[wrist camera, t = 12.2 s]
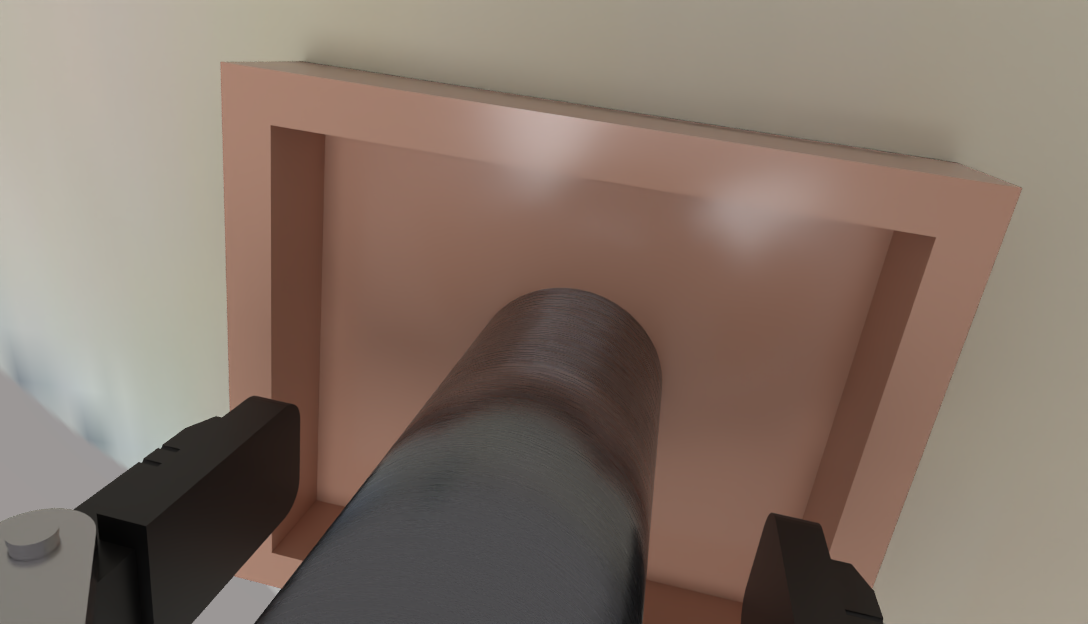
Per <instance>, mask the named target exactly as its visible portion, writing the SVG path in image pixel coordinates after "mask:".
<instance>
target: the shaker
mask: <svg viewBox="0 0 1088 624" xmlns="http://www.w3.org/2000/svg"><path fill="white" fill-rule="evenodd" d="M661 395H662V372H661V365H660V361H659V358H658V354H657V351H656V349H655V347H654V345H653V343H652V341H651V339H650V337H649V336H648V334H647V333H646V331H645V330H644V328H643V327H642V326H641V325H640V324H639V322H638V321H637V320H636V319H635V318H634V317H633V316H632V315H631V314H629V313H628V312H627V311H626V310H625V309H623V308H622V307H620V306H619V305H618V304H616V303H614V302H612V301H610V300H609V299H607V298H605V297H602V296H600V295H597V294H595V293H592V292H588V291H584V290H580V289H572V288H550V289H542V290H538V291H534V292H531V293H528V294H526V295H523V296H521V297H518V298H517V299H515V300H513V301H512V302H510V303H508V304H507V305H506V306H504V307H503V308H502V309H501V310H499V311H498V312H497V313H496V315H495V316H494V317H493V318H492V319H491V320H490V321H489V323H488V324H487V325H486V326H485V328H484V329H483V330H482V332H481V333H480V334H479V335H478V337H477V338H476V339H475V341H474V342H473V343H472V344H471V346H470V347H469V348H468V350H467V351H466V352H465V353H464V355H463V356H462V357H461V359H460V360H459V361H458V362H457V364H456V365H455V366H454V368H453V369H452V370H451V371H450V373H449V374H448V375H447V377H446V378H445V379H444V380H443V382H442V383H441V384H440V386H439V387H438V388H437V389H436V391H435V392H434V393H433V395H432V396H431V397H430V398H429V400H428V401H427V402H426V404H425V405H424V406H423V407H422V409H421V410H420V411H419V413H418V414H417V415H416V416H415V418H414V419H413V420H412V422H411V423H410V424H409V425H408V427H407V428H406V429H405V431H404V432H403V433H402V434H401V436H400V437H399V438H398V440H397V441H396V442H395V443H394V445H393V446H392V447H391V449H390V450H389V451H388V452H387V454H386V455H385V456H384V458H383V459H382V460H381V461H380V463H379V464H378V465H377V467H376V468H375V469H374V470H373V472H372V473H371V474H370V476H369V477H368V478H367V479H366V481H365V482H364V483H363V485H362V486H361V487H360V488H359V490H358V491H357V492H356V494H355V495H354V496H353V497H352V499H351V500H350V501H349V503H348V504H347V505H346V506H345V508H344V509H343V510H342V511H341V513H340V514H339V515H338V517H337V518H336V519H335V520H334V522H333V523H332V524H331V526H330V527H329V528H328V529H327V531H326V532H325V533H324V535H323V536H322V537H321V538H320V540H319V541H318V542H317V544H316V545H315V546H314V547H313V549H312V550H311V551H310V553H309V554H308V555H307V556H306V558H305V559H304V560H303V562H302V563H301V564H300V565H299V567H298V568H297V569H296V571H295V572H294V573H293V574H292V576H291V577H290V578H289V580H288V581H287V582H286V583H285V585H284V586H283V587H282V589H281V590H280V591H279V592H278V594H277V595H276V596H275V598H274V599H273V600H272V601H271V603H270V604H269V605H268V607H267V608H266V609H265V610H264V612H263V613H262V614H261V616H260V617H259V618H258V619H257V621H256V622H255V623H254V624H643V612H644V600H645V588H646V576H647V564H648V552H649V540H650V528H651V516H652V504H653V492H654V480H655V468H656V456H657V444H658V432H659V419H660V407H661Z"/></svg>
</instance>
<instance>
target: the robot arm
mask: <svg viewBox="0 0 1088 624" xmlns="http://www.w3.org/2000/svg"><path fill="white" fill-rule="evenodd" d="M299 480H300V412H299V409H298V407H297V406H296V405H295V404H291V403H286V402H282V401H277V400H273V399H268V398H264V397H260V396H250V397H249V398H247V399H246V400H244V401H243V402H242V403H240V404H239V405H238V406H237V407H235V408H234V409H233V410H231V411H230V412H229V413H227V414H226V415H225V416H223V417H222V418H221V417H217V416H216V417H213V418H211V419H208V420H205V421H203V422H200V423H198V424H195V425H192V426H190V427H187V428H185V429H184V430H182V431H181V432H179V433H178V434H177V435H175V436H174V437H173V438H171V439H170V440H168V441H167V442H166V443H164V444H163V445H162V448H161V449H159V448H157V449H156V450H155V451H153V452H152V453H151V454H149V455H148V456H147V457H145V458H144V459H143V462H142V463H140V462H138V463H137V464H136V465H134V466H133V467H131V468H130V469H129V470H127V471H126V472H125V473H123V474H122V475H120V476H119V477H118V478H116V479H115V480H114V481H112V482H111V483H110V484H108V485H107V486H105V487H104V488H103V489H101V490H100V491H99V492H97V493H96V494H94V495H93V496H92V497H90V498H89V499H88V500H86V501H85V502H83V503H82V504H81V505H79V506H78V507H77V508H75V509H74V510H72V509H63V508H56V509H55V508H54V509H53V508H51V509H41V510H35V511H31V512H27V513H23V514H19V515H16V516H13V517H11V518H8V519H6V520H4V521H1V522H0V624H192V623H193V621H194V620H195V619H196V618H197V617H198V616H199V615H200V614H201V612H202V611H203V610H204V609H205V608H206V607H207V606H208V605H209V603H210V602H211V601H212V600H213V599H214V598H215V597H216V596H217V594H218V593H219V592H220V591H221V590H222V589H223V588H224V586H225V585H226V584H227V583H228V582H229V581H230V580H231V579H232V577H233V576H234V575H235V574H236V573H237V572H238V571H239V570H240V568H241V567H242V566H243V565H244V564H245V563H246V562H247V561H248V559H249V558H250V557H251V556H252V555H253V554H254V553H255V551H256V550H257V549H258V548H259V547H260V546H261V545H262V544H263V542H264V541H265V540H266V539H267V538H268V537H269V536H270V535H271V533H272V532H273V531H274V530H275V529H276V528H277V527H278V526H279V524H280V523H281V522H282V521H283V520H284V519H285V518H286V516H287V515H288V513H289V512H290V510H291V508H292V506H293V504H294V502H295V499H296V496H297V493H298V488H299ZM741 624H883V616H882V613H881V610H880V608H879V605H878V602H877V599H876V596H875V593H874V590H873V589H872V588H871V587H870V586H869V584H868V583H867V582H866V581H865V580H864V578H863V577H862V576H861V575H860V574H859V572H858V571H857V570H856V569H855V568H854V566H853V565H852V564H850V563H846V562H841V561H837V560H833V559H831V557H830V554H829V550H828V547H827V543H826V540H825V536H824V533H823V529H822V526H821V525H820V524H819V523H817V522H812V521H808V520H803V519H799V518H794V517H790V516H786V515H781V514H777V513H770V514H769V515H768V517H767V519H766V522H765V525H764V528H763V531H762V535H761V538H760V541H759V545H758V548H757V552H756V555H755V558H754V562H753V565H752V569H751V572H750V575H749V579H748V582H747V586H746V589H745V593H744V598H743V605H742V613H741Z"/></svg>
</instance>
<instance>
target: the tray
mask: <svg viewBox="0 0 1088 624" xmlns="http://www.w3.org/2000/svg"><path fill="white" fill-rule="evenodd" d="M221 96H222V134H223V172H224V209H225V247H226V284H227V322H228V360H229V397H230V411H231V410H233V409H234V408H235V407H237V406H238V405H239V404H240V403H242V402H243V401H244V400H246V399H247V398H249V397H250V396H260V397H264V398H268V399H273V400H277V401H282V402H286V403H291V404H295V405H296V406H297V407H298V409H299V412H300V480H299V488H298V493H297V496H296V499H295V502H294V504H293V506H292V508H291V510H290V512H289V513H288V515H287V516H286V518H285V519H284V520H283V521H282V522H281V523H280V524H279V526H278V527H277V528H276V529H275V530H274V531H273V532H272V533H271V535H270V536H269V537H268V538H267V539H266V540H265V541H264V542H263V544H262V545H261V546H260V547H259V548H258V549H257V550H256V551H255V553H254V554H253V555H252V556H251V557H250V558H249V559H248V561H247V562H246V563H245V564H244V565H243V566H242V567H241V568H240V570H239V571H238V572H237V573H236V574H235V575H234V576H235V577H239V578H243V579H247V580H251V581H255V582H259V583H262V584H266V585H270V586H274V587H278V588H281V589H282V587H283V586H284V585H285V583H286V582H287V581H288V580H289V578H290V577H291V576H292V574H293V573H294V572H295V571H296V569H297V568H298V567H299V565H300V564H301V563H302V562H303V560H304V559H305V558H306V556H307V555H308V554H309V553H310V551H311V550H312V549H313V547H314V546H315V545H316V544H317V542H318V541H319V540H320V538H321V537H322V536H323V535H324V533H325V532H326V531H327V529H328V528H329V527H330V526H331V524H332V523H333V522H334V520H335V519H336V518H337V517H338V515H339V514H340V513H341V511H342V510H343V509H344V508H345V506H346V505H347V504H348V503H349V501H350V500H351V499H352V497H353V496H354V495H355V494H356V492H357V491H358V490H359V488H360V487H361V486H362V485H363V483H364V482H365V481H366V479H367V478H368V477H369V476H370V474H371V473H372V472H373V470H374V469H375V468H376V467H377V465H378V464H379V463H380V461H381V460H382V459H383V458H384V456H385V455H386V454H387V452H388V451H389V450H390V449H391V447H392V446H393V445H394V443H395V442H396V441H397V440H398V438H399V437H400V436H401V434H402V433H403V432H404V431H405V429H406V428H407V427H408V425H409V424H410V423H411V422H412V420H413V419H414V418H415V416H416V415H417V414H418V413H419V411H420V410H421V409H422V407H423V406H424V405H425V404H426V402H427V401H428V400H429V398H430V397H431V396H432V395H433V393H434V392H435V391H436V389H437V388H438V387H439V386H440V384H441V383H442V382H443V380H444V379H445V378H446V377H447V375H448V374H449V373H450V371H451V370H452V369H453V368H454V366H455V365H456V364H457V362H458V361H459V360H460V359H461V357H462V356H463V355H464V353H465V352H466V351H467V350H468V348H469V347H470V346H471V344H472V343H473V342H474V341H475V339H476V338H477V337H478V335H479V334H480V333H481V332H482V330H483V329H484V328H485V326H486V325H487V324H488V323H489V321H490V320H491V319H492V318H493V317H494V316H495V315H496V313H497V312H498V311H499V310H501V309H502V308H503V307H504V306H506V305H507V304H508V303H510V302H512V301H513V300H515V299H517V298H518V297H521V296H523V295H526V294H528V293H531V292H534V291H538V290H542V289H550V288H572V289H580V290H584V291H588V292H592V293H595V294H597V295H600V296H602V297H605V298H607V299H609V300H610V301H612V302H614V303H616V304H618V305H619V306H620V307H622V308H623V309H625V310H626V311H627V312H628V313H629V314H631V315H632V316H633V317H634V318H635V319H636V320H637V321H638V322H639V324H640V325H641V326H642V327H643V328H644V330H645V331H646V333H647V334H648V336H649V337H650V339H651V341H652V343H653V345H654V347H655V349H656V351H657V354H658V358H659V361H660V365H661V372H662V395H661V407H660V419H659V432H658V444H657V456H656V468H655V480H654V492H653V504H652V516H651V528H650V540H649V552H648V564H647V576H646V588H645V600H644V612H643V624H741V613H742V605H743V598H744V593H745V589H746V586H747V582H748V579H749V575H750V572H751V569H752V565H753V562H754V558H755V555H756V552H757V548H758V545H759V541H760V538H761V535H762V531H763V528H764V525H765V522H766V519H767V517H768V515H769V514H770V513H777V514H781V515H786V516H790V517H794V518H799V519H803V520H808V521H812V522H817V523H819V524H820V525H821V526H822V529H823V533H824V536H825V540H826V543H827V547H828V550H829V554H830V557H831V559H833V560H837V561H841V562H846V563H850V564H852V565H853V566H854V568H855V569H856V570H857V571H858V572H859V574H860V575H861V576H862V577H863V578H864V580H865V581H866V582H867V583H868V584H869V586H870V587H871V588H873V585H874V582H875V580H876V577H877V574H878V572H879V569H880V566H881V564H882V561H883V558H884V556H885V553H886V550H887V548H888V545H889V542H890V540H891V537H892V534H893V532H894V529H895V526H896V524H897V521H898V518H899V516H900V513H901V510H902V508H903V505H904V502H905V500H906V497H907V494H908V492H909V489H910V486H911V484H912V481H913V478H914V476H915V473H916V470H917V468H918V465H919V462H920V460H921V457H922V454H923V452H924V449H925V446H926V444H927V441H928V438H929V436H930V433H931V430H932V428H933V425H934V422H935V420H936V417H937V414H938V412H939V409H940V406H941V404H942V401H943V398H944V396H945V393H946V390H947V388H948V385H949V382H950V380H951V377H952V374H953V372H954V369H955V366H956V364H957V361H958V358H959V356H960V353H961V350H962V348H963V345H964V342H965V340H966V337H967V334H968V332H969V329H970V326H971V324H972V321H973V318H974V316H975V313H976V310H977V308H978V305H979V302H980V300H981V297H982V294H983V292H984V289H985V286H986V284H987V281H988V278H989V276H990V273H991V270H992V268H993V265H994V262H995V260H996V257H997V254H998V252H999V249H1000V246H1001V244H1002V241H1003V238H1004V236H1005V233H1006V230H1007V228H1008V225H1009V222H1010V220H1011V217H1012V214H1013V212H1014V209H1015V206H1016V204H1017V201H1018V198H1019V196H1020V193H1021V190H1022V188H1021V187H1018V186H1016V185H1013V184H1011V183H1008V182H1006V181H1003V180H1000V179H998V178H995V177H993V176H990V175H987V174H985V173H982V172H980V171H977V170H975V169H972V168H969V167H967V166H964V165H962V164H959V163H955V162H949V161H942V160H936V159H930V158H923V157H917V156H910V155H904V154H897V153H891V152H884V151H878V150H871V149H865V148H858V147H852V146H846V145H839V144H833V143H826V142H820V141H813V140H807V139H800V138H794V137H787V136H781V135H774V134H768V133H762V132H755V131H749V130H742V129H736V128H729V127H723V126H716V125H710V124H703V123H697V122H690V121H684V120H678V119H671V118H665V117H658V116H652V115H645V114H639V113H632V112H626V111H619V110H613V109H606V108H600V107H594V106H587V105H581V104H574V103H568V102H561V101H555V100H548V99H542V98H535V97H529V96H523V95H516V94H510V93H503V92H497V91H490V90H484V89H477V88H471V87H464V86H458V85H451V84H445V83H439V82H432V81H426V80H419V79H413V78H406V77H400V76H393V75H387V74H380V73H374V72H367V71H361V70H354V69H348V68H342V67H335V66H329V65H322V64H316V63H309V62H303V61H279V62H221Z"/></svg>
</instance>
